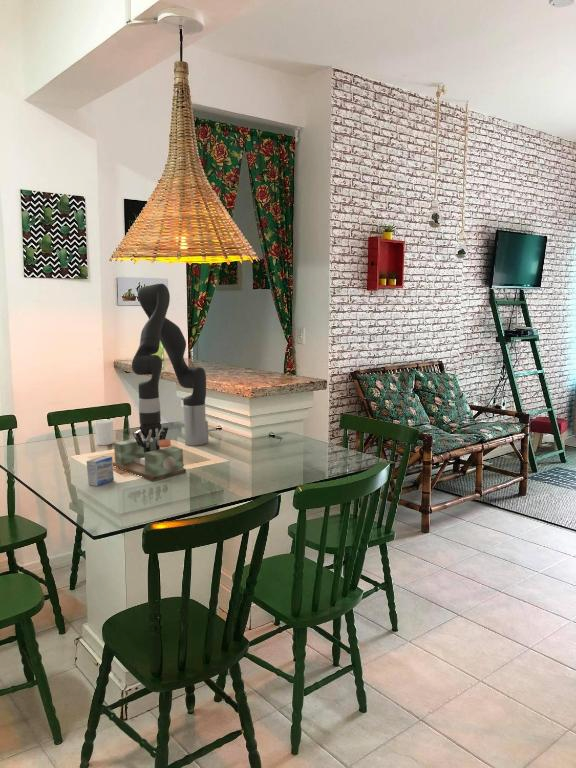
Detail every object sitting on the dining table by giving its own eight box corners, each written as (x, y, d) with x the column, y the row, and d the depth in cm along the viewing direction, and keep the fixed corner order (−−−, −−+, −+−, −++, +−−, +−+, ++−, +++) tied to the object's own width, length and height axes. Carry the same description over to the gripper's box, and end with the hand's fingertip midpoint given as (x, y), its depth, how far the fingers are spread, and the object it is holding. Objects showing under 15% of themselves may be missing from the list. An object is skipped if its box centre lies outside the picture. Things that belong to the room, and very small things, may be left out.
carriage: (159, 463, 237) (158, 438, 236) (168, 466, 233) (167, 441, 231) (140, 467, 232) (139, 442, 230) (149, 470, 227) (148, 445, 226)
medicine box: (97, 486, 216) (95, 462, 215) (87, 485, 218) (86, 460, 217) (114, 480, 223) (112, 456, 222) (104, 478, 225) (103, 455, 224)
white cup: (106, 440, 284) (105, 418, 282) (118, 442, 279) (116, 420, 278) (92, 444, 278) (90, 421, 276) (103, 446, 273) (102, 423, 272)
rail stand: (145, 459, 250) (144, 436, 249) (186, 473, 230) (185, 448, 229) (112, 466, 241) (111, 443, 240) (152, 481, 220) (151, 456, 219)
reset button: (166, 444, 228) (166, 438, 228) (172, 445, 225) (172, 440, 225) (156, 446, 225) (156, 440, 225) (163, 447, 222) (162, 442, 222)
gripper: (160, 406, 237) (163, 451, 240) (126, 411, 228) (129, 458, 230) (171, 408, 232) (174, 454, 235) (137, 414, 223) (140, 462, 225)
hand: (152, 456), depth 233 cm, fingers open, 3 cm apart
